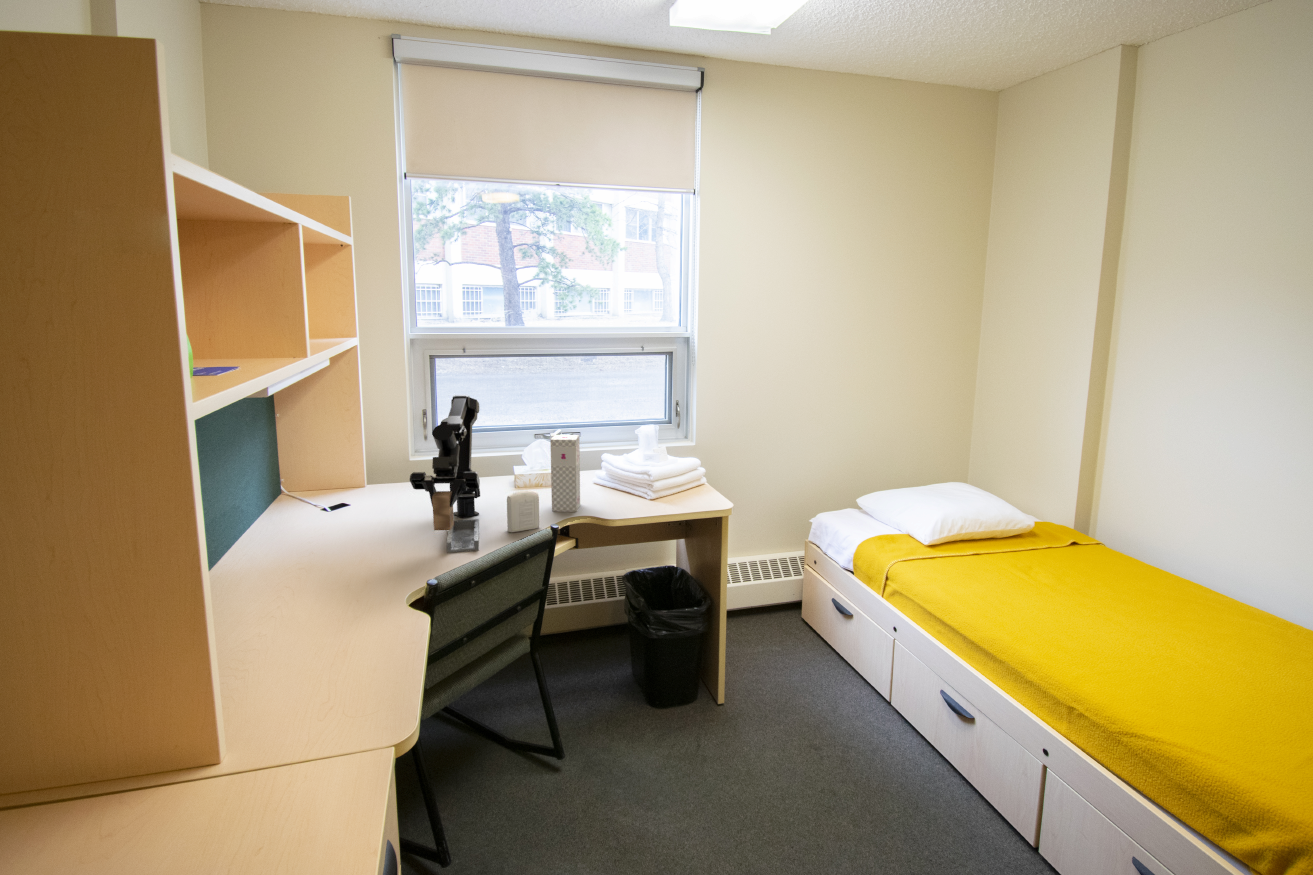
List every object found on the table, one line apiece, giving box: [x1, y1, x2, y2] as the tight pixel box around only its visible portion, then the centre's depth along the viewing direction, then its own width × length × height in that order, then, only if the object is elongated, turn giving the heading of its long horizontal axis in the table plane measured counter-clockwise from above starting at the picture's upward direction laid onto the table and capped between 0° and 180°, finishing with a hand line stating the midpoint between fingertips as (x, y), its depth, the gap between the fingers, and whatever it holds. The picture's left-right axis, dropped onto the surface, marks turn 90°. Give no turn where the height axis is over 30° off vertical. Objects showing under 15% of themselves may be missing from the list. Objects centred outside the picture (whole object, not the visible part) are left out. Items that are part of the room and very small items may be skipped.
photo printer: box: [506, 490, 540, 533], centre depth 214 cm, size 10×4×12 cm, turn 123°
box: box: [550, 434, 581, 513], centre depth 235 cm, size 8×8×25 cm
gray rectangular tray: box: [446, 518, 480, 554], centre depth 204 cm, size 20×9×3 cm, turn 14°
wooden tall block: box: [431, 490, 455, 532], centre depth 194 cm, size 4×5×10 cm
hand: (441, 506), depth 192 cm, fingers closed on wooden tall block, 4 cm apart
